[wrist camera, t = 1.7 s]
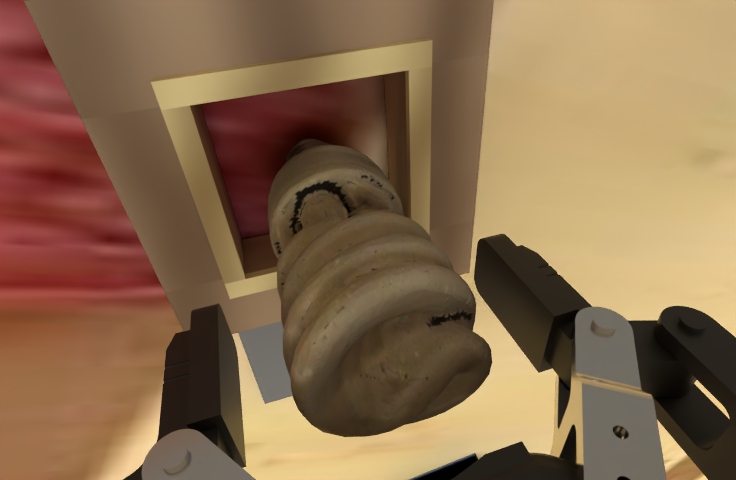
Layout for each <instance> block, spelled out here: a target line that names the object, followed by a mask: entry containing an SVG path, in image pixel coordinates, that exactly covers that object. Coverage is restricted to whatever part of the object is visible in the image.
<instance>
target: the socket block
mask: <svg viewBox="0 0 736 480" xmlns="http://www.w3.org/2000/svg"><path fill="white" fill-rule="evenodd" d="M493 1H494V0H25V1H24V2H25V4H26V6H27V8H28V10H29V12H30V14H31V16H32V18H33V21H34V23H35V25H36V27H37V29H38V31H39V33H40V35H41V37H42V39H43V41H44V43H45V45H46V47H47V49H48V52H49V54H50V56H51V58H52V60H53V62H54V64H55V66H56V68H57V70H58V72H59V74H60V76H61V78H62V80H63V83H64V85H65V87H66V89H67V91H68V93H69V95H70V97H71V99H72V101H73V103H74V105H75V107H76V109H77V111H78V114H79V116H80V118H81V120H82V122H83V124H84V126H85V128H86V130H87V132H88V134H89V136H90V138H91V140H92V142H93V145H94V147H95V149H96V151H97V153H98V155H99V157H100V159H101V161H102V163H103V165H104V167H105V169H106V171H107V173H108V176H109V178H110V180H111V182H112V184H113V186H114V188H115V190H116V192H117V194H118V196H119V198H120V200H121V202H122V204H123V207H124V209H125V211H126V213H127V215H128V217H129V219H130V221H131V223H132V225H133V227H134V229H135V231H136V233H137V235H138V238H139V240H140V242H141V244H142V246H143V248H144V250H145V252H146V254H147V256H148V258H149V260H150V262H151V264H152V266H153V269H154V271H155V273H156V275H157V277H158V279H159V281H160V283H161V285H162V287H163V289H164V291H165V293H166V295H167V297H168V300H169V302H170V304H171V306H172V308H173V310H174V312H175V314H176V316H177V318H178V320H179V322H180V324H181V326H182V328H183V331H188V330H190V323H191V311H192V310H194V309H199V308H203V307H207V306H211V305H215V304H220V306H221V308H222V310H223V313H224V315H225V318H226V321H227V323H228V326H229V329H230V331H231V334H234V333H237V332H241V331H245V330H249V329H253V328H257V327H261V326H265V325H268V324H272V323H276V322H280V321H281V300H280V297H279V293H278V290H277V263H278V258H277V257H276V255H275V253H274V251H273V248H272V244H271V240H270V234H266V235H261V236H257V237H252V238H248V239H243V240H242V238H241V235H240V232H239V228H238V225H237V222H236V219H235V215H234V212H233V209H232V206H231V202H230V199H229V196H228V193H227V189H226V186H225V183H224V180H223V176H222V173H221V170H220V167H219V163H218V160H217V157H216V153H215V150H214V147H213V144H212V140H211V137H210V134H209V131H208V127H207V124H206V121H205V118H204V114H203V111H202V108H201V105H200V104H203V103H209V102H215V101H221V100H228V99H234V98H240V97H246V96H252V95H259V94H265V93H271V92H277V91H283V90H290V89H296V88H302V87H308V86H314V85H321V84H327V83H333V82H339V81H345V80H352V79H358V78H364V77H370V76H376V75H383V74H384V86H385V106H386V127H387V147H388V168H389V181H390V183H391V184H392V185H393V187H394V189H395V191H396V193H397V194H398V196H399V198H400V200H401V204H402V208H403V213H404V217H407V218H410V219H412V220H413V221H415V222H417V223H418V224H420V225H421V226H422V227H423V228H424V229H425V230H426V232H427V233H428V234H429V235H430V237H431V240H432V242H433V243H435V244H436V245H438V246H439V247H440V248H441V249H442V250H443V251H444V252H445V253H446V254H447V256H448V258H449V260H450V262H451V264H452V265H453V270H454V272H456V273H457V274H458V275H462V274H465V273H469V270H470V259H471V248H472V236H473V225H474V214H475V203H476V191H477V180H478V169H479V158H480V147H481V135H482V124H483V113H484V102H485V91H486V79H487V68H488V57H489V46H490V35H491V23H492V12H493Z"/></svg>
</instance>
